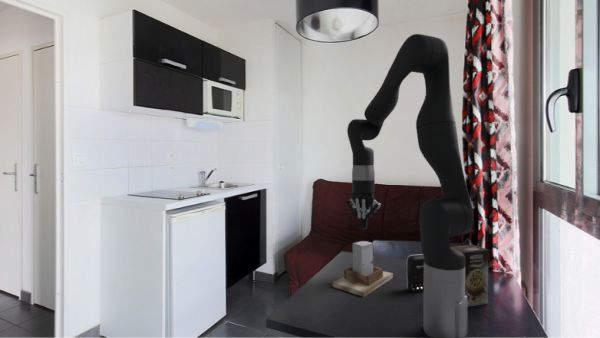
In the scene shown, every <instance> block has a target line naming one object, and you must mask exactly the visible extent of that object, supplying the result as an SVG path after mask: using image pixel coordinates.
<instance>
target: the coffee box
mask: <svg viewBox="0 0 600 338" xmlns="http://www.w3.org/2000/svg"><path fill="white" fill-rule="evenodd" d="M450 248H452V249H455V250H458V251H460V252H462V253H463V254H464V256H465V295H466V296H467V308H469V307H475V306H479V305H480V306H481V305H486V304H488V301H489V300H488V299H489V296H488V295H489V294H488V293H489V256H490V255H489V253H490V250H489V249H487V248H485V247H481V246H478V245H474V244H465V245H464V244H463V245H455V246H453V245H452V246H450Z"/></svg>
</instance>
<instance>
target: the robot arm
mask: <svg viewBox="0 0 600 338" xmlns="http://www.w3.org/2000/svg"><path fill="white" fill-rule="evenodd" d="M406 38H407V39H405V40H404V42H403V43H402V45H401V46H400V47H399V50H398V52H397V54H396V55H395V57H394V59H393V62H392V64H391V66H390V67H389V69H388V71H387V73H386V75H385V78H384V80H383V82H382V84H381V86H380V88H379V90H378V91H377V92H376V94H375V95H374V96H373V98H372V99H371V101H370V102H369V103H368V105H367V106H366V107H365V110H364V114H363V115H364V117H365V119H363V118H362V119H361V118H354V119H352V120H350V122H349V123H348V125H347V130H346V131H347V139H348V141H349V144H350V148H351V153H352V169H351V192H352V195H351V198H350V199H349V200H346V201H345V203H346V205H347V207H348V208H349V210H350V212H351V214H353V216H354V217H357V218H358V227H359V230H367V229H368V228H369V218H373V217H374V216H375V214H376V213H377V212H378V211H379V209H380V208H381V207H382V203H381V202H379V201H377V200H376V196H375V192H376V190H375V187H376V186H375V184H376V183H375V182H376V181H375V154H374V153H375V151H374V150H373V148H372V147H371V148H370V147H367V146H365V144H364V142H363V141H372V140H375V139H376V138H377V137H378V136H379V135H380V133H381V130H382V128H383V125H384V123H385V120H386V119H388V117H389V116H390V115H391V113H392V112H393V111H394V109H395V108H396V107H397V105H398V104H397V103H398V101H399V96H400V95H399V94H400V88H401V85H402V83H403V82H404V80H405V79H406V78H407V77H408V76H409V75H410V74H411V73H418V74H423V75H422V76H423V78H424V84H425V94H424V95H425V96H424V100H423V103H422V105H421V107H420V109H419V112H418V114H417V116H416V117H417V118H416V121H415V129H416V130H415V131H416V136H417V144H418V149H419V152H420V153H421V154H422V156H423V158H424V160H425V161H426V162H427V163H428V164H429V166H430V167H431V169H432V170H433V171H434V173H435V175H436V177H437V178H438V181H439V183H440V188H441V193H442V194H441V195H442V197H439V198H429V199H427V200H425V201H424V202H423V204H422V205H421V208H420V211H419V230H420V231H419V232H420V233H419V234H420V247H421V251H422V254H423V255H424V291H423V320H422V322H423V332H424V333H425V335H426V336H428V337H430V338H466V337H467V335H468V307H467V296H466V295H465V256H464V254H463V253H462V252H460V251H458V250H455V249H452V248H450V247H451V244H450V243H451V242H450V237H455V236H456V237H457V236H463V235H464V236H465V235H466V234H469V233H470V231H472V228H473V227H474V226H473V225H474V219H475V215H474V209H473V206H472V205H473V204H472V202H471V198H470V195H469V194H470V193H469V190H468V187H467V182H466V179H465V174H464V170H463V164H462V159H461V152H460V148H459V138H458V129H457V125H456V124H457V123H456V119H455V114H454V107H453V98H452V91H451V77H450V76H451V74H450V73H451V72H450V55H449V49H448V48H449V47H448V45H447V43H446V41H444V40H443V39H442V38H439V37H436V36H431V35H426V34H420V33H414V34H411V35H409V37H406Z"/></svg>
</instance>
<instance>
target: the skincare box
mask: <svg viewBox="0 0 600 338" xmlns="http://www.w3.org/2000/svg"><path fill="white" fill-rule="evenodd" d="M352 266H353V271H354V272H358V273H361V274H365V275H370V274H371V273H373V266H374V243H373V242H369V241H366V240H361V241H356V242H353V243H352Z"/></svg>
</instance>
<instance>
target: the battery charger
mask: <svg viewBox="0 0 600 338" xmlns="http://www.w3.org/2000/svg"><path fill="white" fill-rule="evenodd" d="M405 259H406V260H405V278H406V279H405V280H406V282H405V284H406V285H405V287H406V288H405V289H406V290H408V291H409V292H410V293H420V292H424V255H423V253H420V254H418V253H417V254H409V255H407V256H406V258H405Z"/></svg>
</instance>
